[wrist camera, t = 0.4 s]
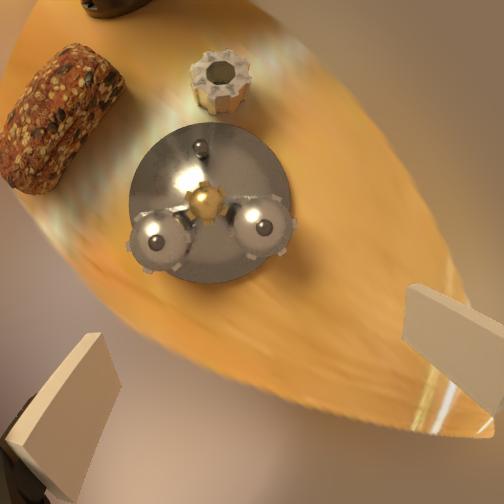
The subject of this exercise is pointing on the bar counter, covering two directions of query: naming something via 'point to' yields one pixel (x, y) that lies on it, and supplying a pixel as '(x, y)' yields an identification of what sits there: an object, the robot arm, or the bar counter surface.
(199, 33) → the bar counter surface
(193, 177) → the carrier
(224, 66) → the planet gear
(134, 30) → the bar counter surface
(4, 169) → the bread
